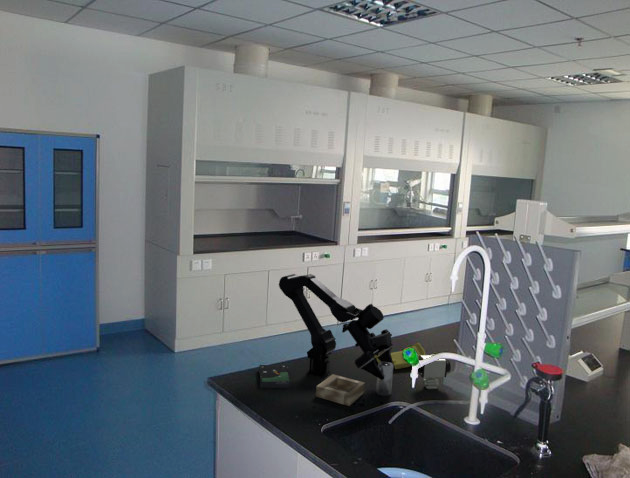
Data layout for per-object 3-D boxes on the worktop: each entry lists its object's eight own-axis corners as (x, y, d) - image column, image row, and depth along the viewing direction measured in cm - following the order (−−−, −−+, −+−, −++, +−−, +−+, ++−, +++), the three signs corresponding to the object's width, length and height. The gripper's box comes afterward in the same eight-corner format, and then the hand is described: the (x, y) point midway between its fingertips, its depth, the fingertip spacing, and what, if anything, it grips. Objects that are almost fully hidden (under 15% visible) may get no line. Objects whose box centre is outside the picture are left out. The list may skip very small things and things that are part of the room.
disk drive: (258, 372, 185) (260, 389, 171) (258, 364, 185) (260, 381, 171) (286, 371, 187) (291, 388, 173) (287, 364, 187) (291, 380, 172)
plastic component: (385, 366, 190) (373, 347, 197) (380, 380, 194) (369, 360, 202) (430, 358, 197) (417, 339, 205) (424, 371, 201) (412, 352, 209)
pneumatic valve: (448, 390, 178) (452, 357, 176) (416, 390, 176) (419, 357, 174) (442, 383, 183) (445, 351, 182) (411, 383, 181) (414, 351, 180)
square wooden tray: (315, 396, 167) (316, 385, 166) (332, 383, 177) (332, 373, 177) (349, 406, 161) (350, 395, 161) (364, 392, 172) (364, 382, 171)
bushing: (374, 393, 172) (376, 364, 170) (379, 388, 176) (381, 360, 175) (388, 397, 169) (390, 368, 168) (393, 391, 174) (395, 363, 172)
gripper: (365, 330, 164) (395, 371, 160) (389, 317, 180) (416, 355, 175) (342, 347, 169) (370, 388, 165) (367, 334, 185) (393, 371, 180)
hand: (389, 375), depth 171 cm, fingers open, 9 cm apart
